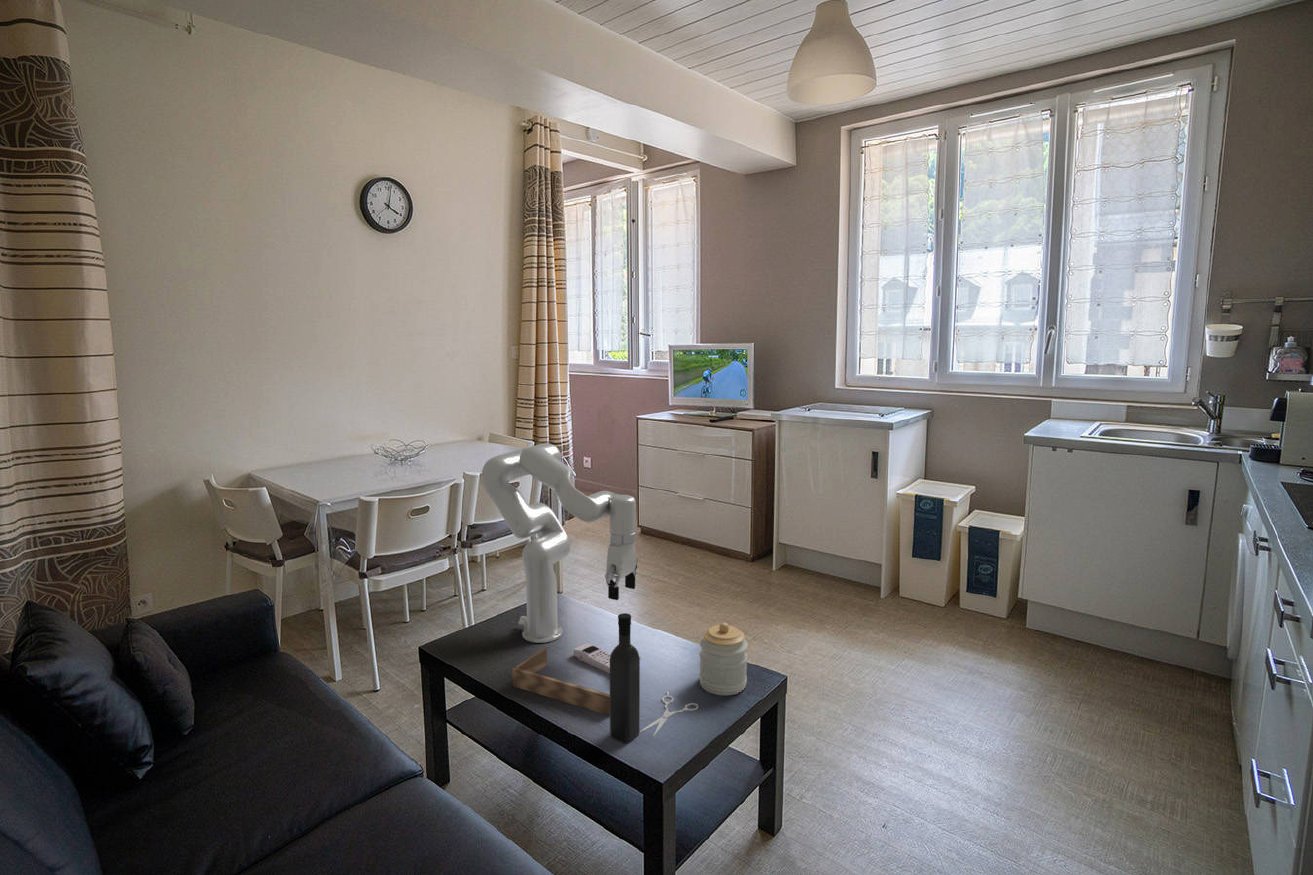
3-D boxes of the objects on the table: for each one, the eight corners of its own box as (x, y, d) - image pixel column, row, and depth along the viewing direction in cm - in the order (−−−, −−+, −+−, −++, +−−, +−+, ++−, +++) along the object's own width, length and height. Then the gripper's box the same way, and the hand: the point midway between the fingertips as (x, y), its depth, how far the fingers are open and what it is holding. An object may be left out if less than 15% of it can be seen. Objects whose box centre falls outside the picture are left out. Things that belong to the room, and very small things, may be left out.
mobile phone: (627, 664, 183) (567, 636, 199) (627, 684, 183) (567, 655, 200) (642, 657, 187) (582, 630, 203) (642, 677, 188) (582, 648, 204)
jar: (746, 673, 189) (747, 614, 187) (747, 698, 177) (749, 634, 174) (699, 671, 191) (700, 612, 188) (698, 695, 178) (699, 632, 175)
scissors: (702, 702, 174) (664, 741, 157) (702, 704, 174) (664, 744, 157) (667, 691, 179) (626, 727, 162) (667, 693, 179) (626, 730, 162)
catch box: (512, 686, 182) (512, 668, 181) (544, 663, 194) (543, 647, 193) (611, 715, 168) (611, 697, 167) (638, 689, 180) (638, 672, 179)
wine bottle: (607, 736, 159) (607, 616, 155) (622, 725, 164) (622, 608, 159) (627, 745, 156) (627, 622, 151) (641, 733, 161) (641, 614, 156)
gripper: (626, 528, 205) (625, 581, 208) (595, 543, 190) (595, 601, 192) (647, 531, 202) (646, 586, 204) (618, 547, 186) (618, 606, 189)
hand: (622, 593), depth 198 cm, fingers open, 9 cm apart
